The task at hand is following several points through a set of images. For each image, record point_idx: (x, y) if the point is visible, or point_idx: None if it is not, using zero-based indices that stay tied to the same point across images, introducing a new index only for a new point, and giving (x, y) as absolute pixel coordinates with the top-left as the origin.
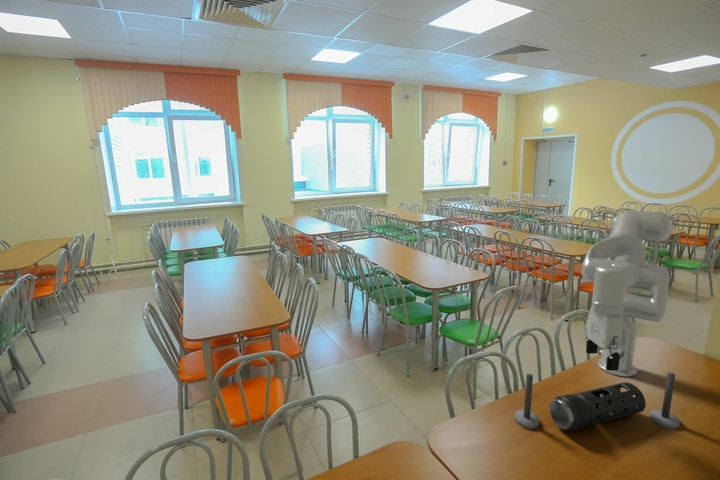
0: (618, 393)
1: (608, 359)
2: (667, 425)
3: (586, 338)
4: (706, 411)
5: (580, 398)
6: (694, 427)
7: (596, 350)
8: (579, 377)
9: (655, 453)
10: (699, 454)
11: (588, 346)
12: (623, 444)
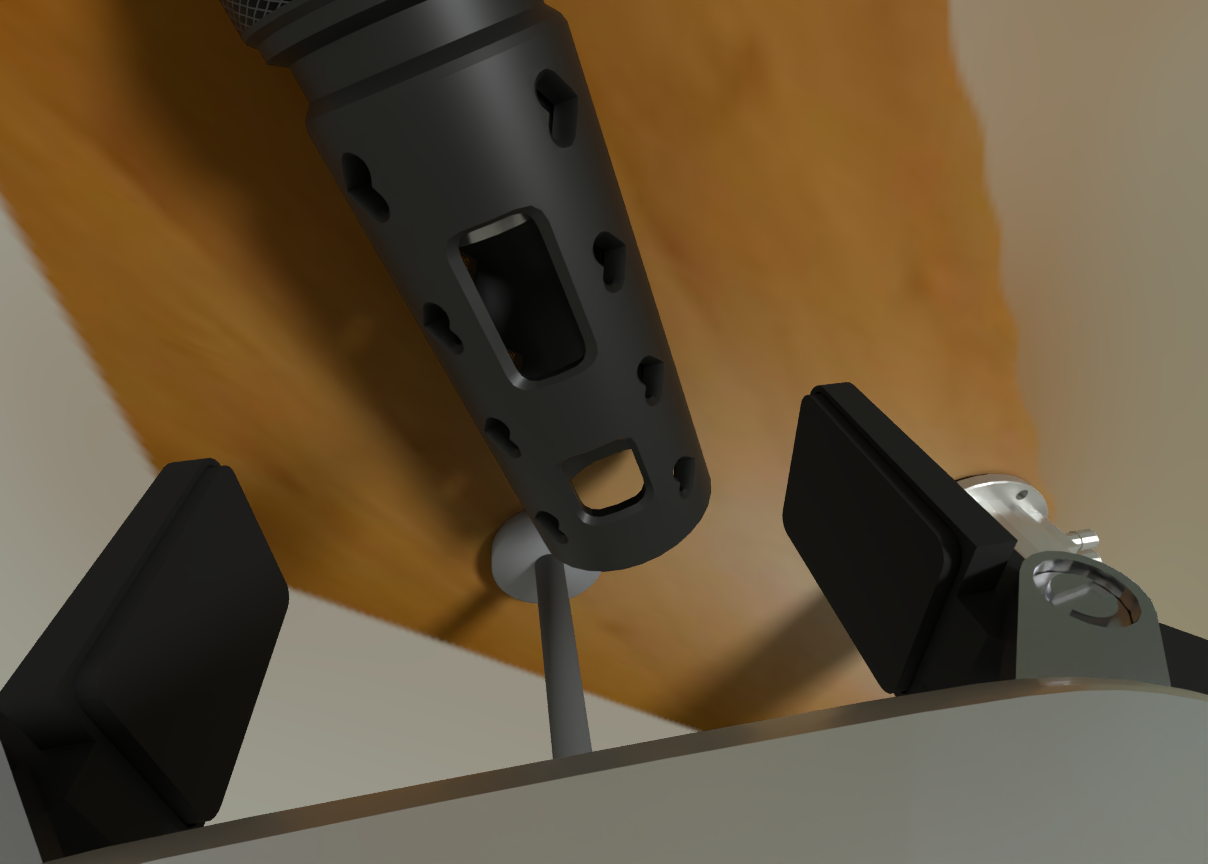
0: (534, 438)
1: (35, 662)
2: (495, 545)
3: (1106, 574)
4: (618, 688)
5: (404, 44)
6: (513, 621)
7: (804, 547)
8: (942, 328)
9: (266, 404)
10: (325, 566)
11: (882, 478)
12: (295, 274)
